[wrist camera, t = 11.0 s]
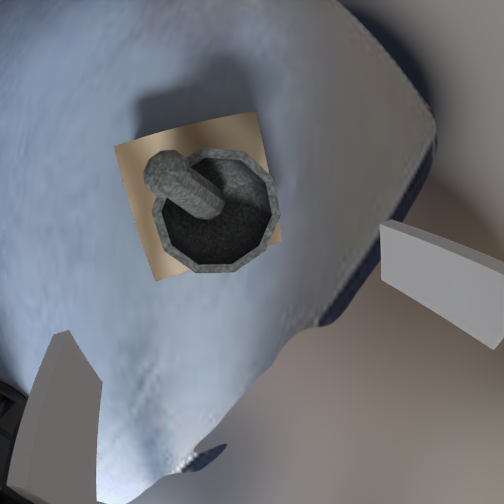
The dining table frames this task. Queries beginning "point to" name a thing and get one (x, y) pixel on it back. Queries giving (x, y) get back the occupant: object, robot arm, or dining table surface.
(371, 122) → the dining table surface
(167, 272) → the oak footstool
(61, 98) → the dining table surface
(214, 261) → the mortar and pestle
